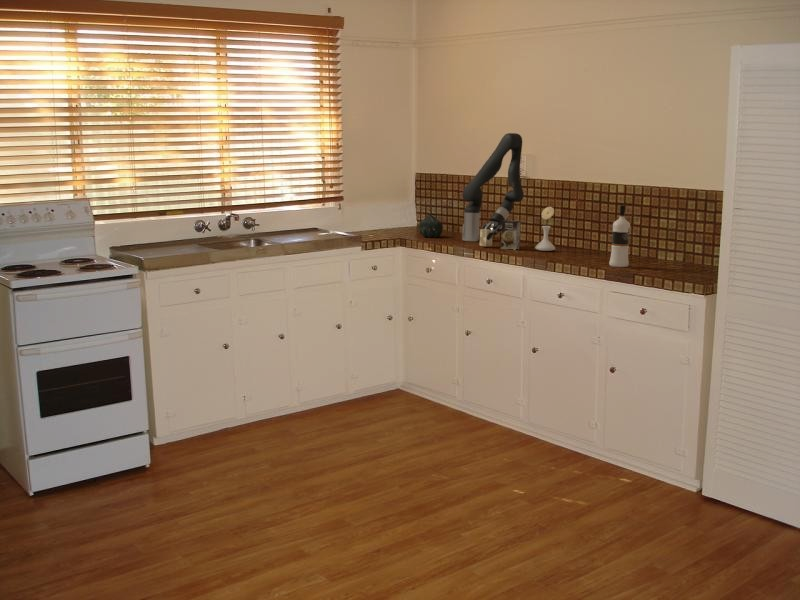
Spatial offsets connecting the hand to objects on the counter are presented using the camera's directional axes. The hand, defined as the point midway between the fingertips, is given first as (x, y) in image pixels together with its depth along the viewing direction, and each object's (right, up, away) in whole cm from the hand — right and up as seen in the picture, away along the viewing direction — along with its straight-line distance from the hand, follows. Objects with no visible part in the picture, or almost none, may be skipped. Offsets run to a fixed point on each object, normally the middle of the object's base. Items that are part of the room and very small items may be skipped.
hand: (483, 238), depth 504 cm
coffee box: (+14, -7, -4) cm, 16 cm away
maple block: (+1, -4, +2) cm, 5 cm away
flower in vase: (+34, -8, -9) cm, 36 cm away
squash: (-29, +4, +53) cm, 60 cm away
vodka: (+60, -19, -68) cm, 92 cm away
